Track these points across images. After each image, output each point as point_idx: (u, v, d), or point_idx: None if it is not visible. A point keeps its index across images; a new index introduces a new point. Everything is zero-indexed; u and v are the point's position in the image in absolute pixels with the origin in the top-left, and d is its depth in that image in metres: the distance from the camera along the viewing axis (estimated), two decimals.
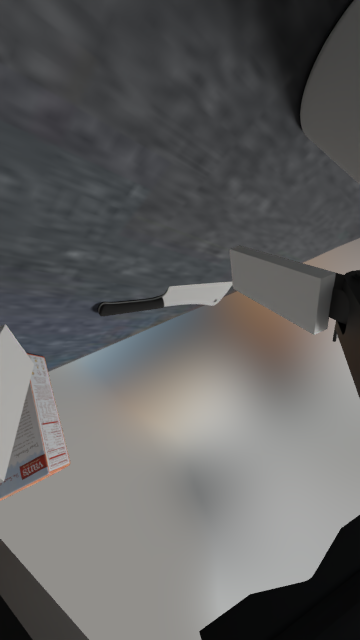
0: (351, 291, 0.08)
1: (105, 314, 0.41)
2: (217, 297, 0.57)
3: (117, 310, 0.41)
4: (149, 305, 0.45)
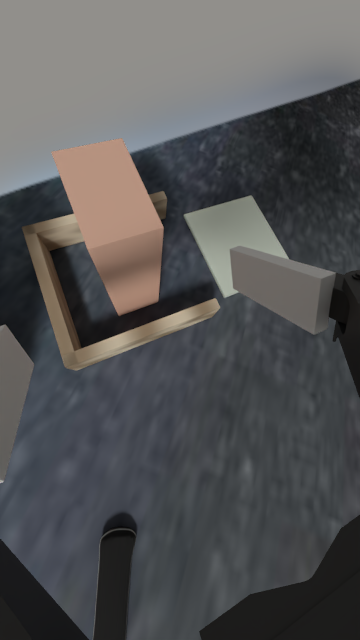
0: (351, 291, 0.08)
1: (111, 548, 0.20)
2: None
3: (117, 576, 0.20)
4: None
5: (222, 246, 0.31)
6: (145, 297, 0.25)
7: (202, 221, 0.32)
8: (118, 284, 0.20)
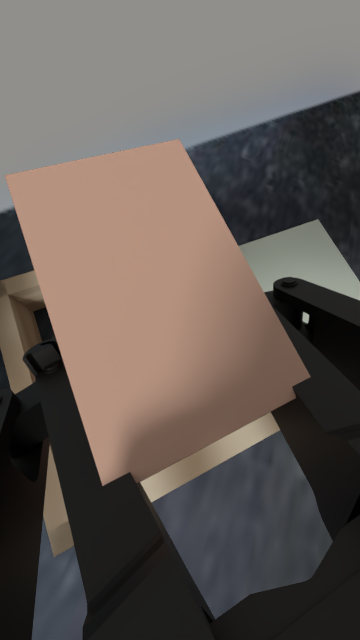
0: None
1: None
2: None
3: None
4: None
5: None
6: None
7: (255, 259, 0.22)
8: None
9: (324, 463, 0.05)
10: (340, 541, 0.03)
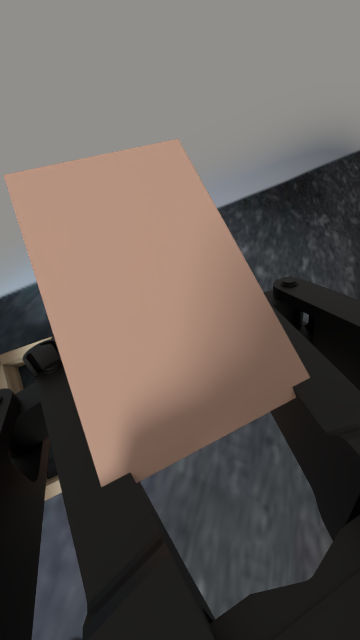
0: None
1: None
2: None
3: None
4: None
5: None
6: None
7: None
8: None
9: (324, 463, 0.05)
10: (340, 541, 0.03)
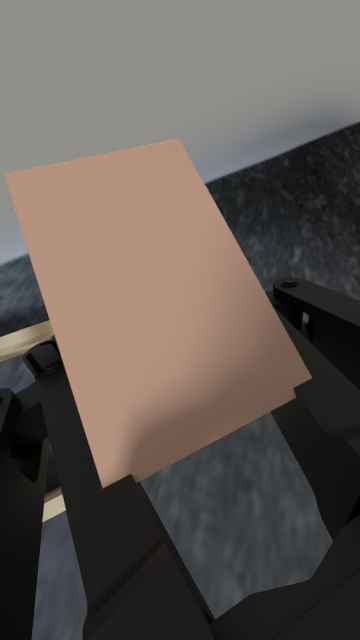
0: None
1: None
2: None
3: None
4: None
5: None
6: None
7: None
8: None
9: (324, 463, 0.05)
10: (340, 541, 0.03)
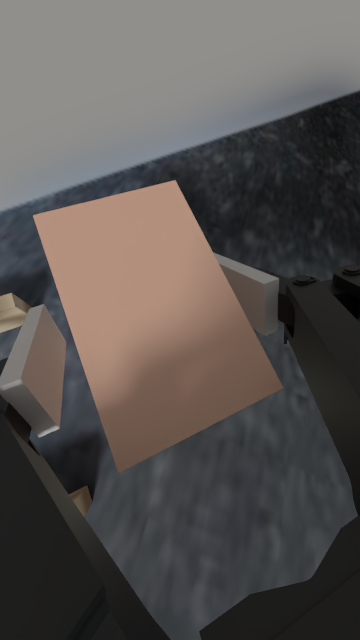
0: (294, 297, 0.09)
1: None
2: None
3: None
4: None
5: None
6: None
7: None
8: None
9: None
10: (340, 541, 0.03)
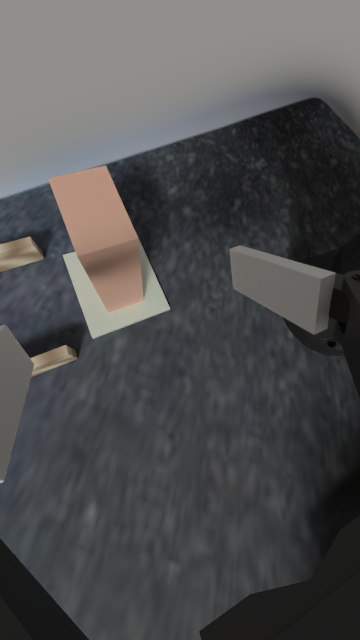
0: (351, 291, 0.08)
1: None
2: None
3: None
4: None
5: None
6: (130, 295, 0.29)
7: None
8: (105, 284, 0.24)
9: None
10: (340, 541, 0.03)
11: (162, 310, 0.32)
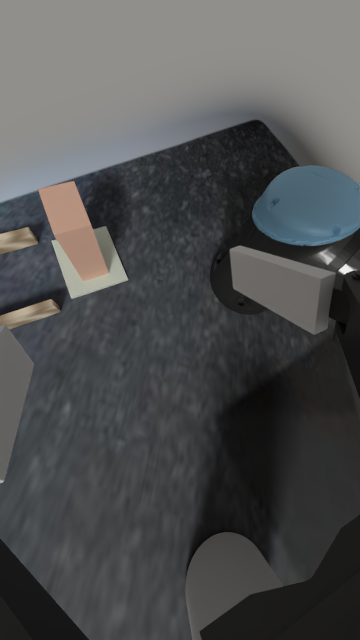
0: (351, 291, 0.08)
1: None
2: None
3: None
4: None
5: None
6: (97, 268, 0.42)
7: None
8: (76, 256, 0.37)
9: None
10: (340, 541, 0.03)
11: (122, 280, 0.45)
